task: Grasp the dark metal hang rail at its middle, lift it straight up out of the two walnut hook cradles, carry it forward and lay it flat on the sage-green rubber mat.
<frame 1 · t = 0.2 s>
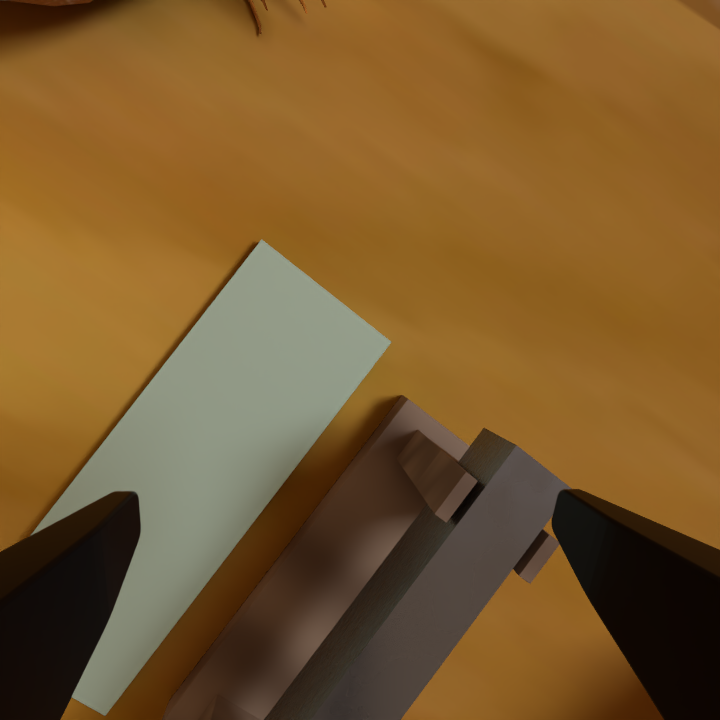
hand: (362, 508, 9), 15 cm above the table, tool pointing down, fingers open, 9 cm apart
hook stand: (341, 582, 24), on the table
rubber mat: (185, 477, 23), on the table
hang rail: (350, 655, 19), point 5 cm above the table, touching hook stand
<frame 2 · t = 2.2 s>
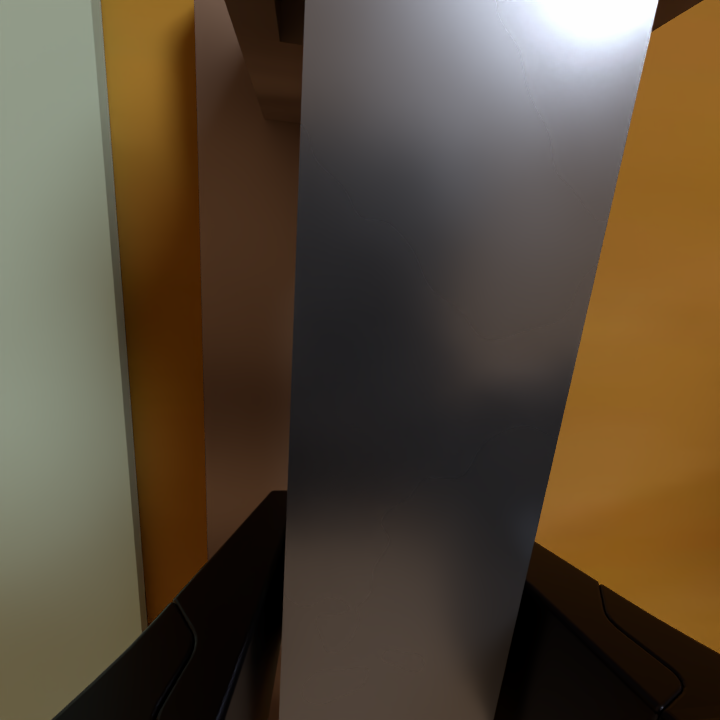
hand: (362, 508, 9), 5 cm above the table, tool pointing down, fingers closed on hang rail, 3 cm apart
hook stand: (342, 413, 13), on the table
hang rail: (365, 522, 8), point 5 cm above the table, touching gripper, hook stand
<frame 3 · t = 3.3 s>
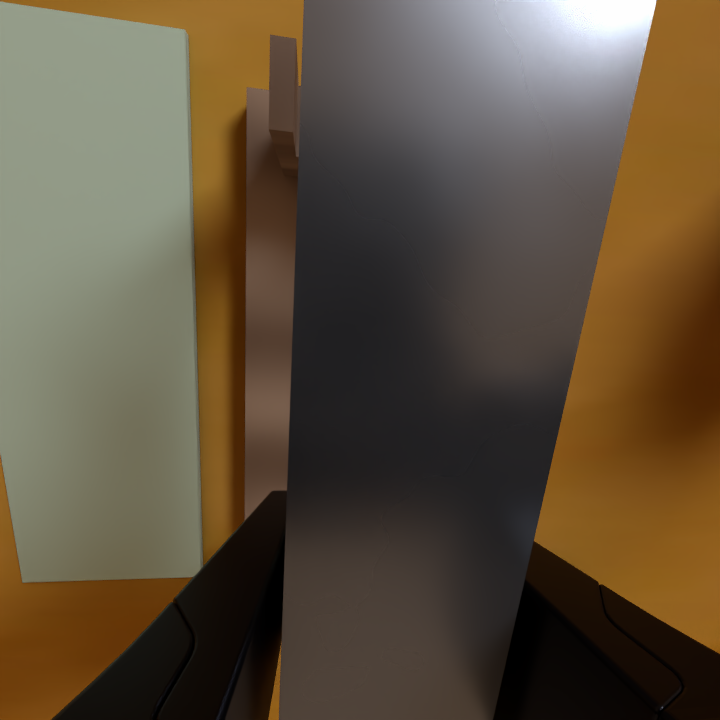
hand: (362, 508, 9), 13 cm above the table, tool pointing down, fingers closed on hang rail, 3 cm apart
hook stand: (330, 355, 21), on the table
rubber mat: (96, 344, 19), on the table
hang rail: (365, 521, 8), point 13 cm above the table, touching gripper
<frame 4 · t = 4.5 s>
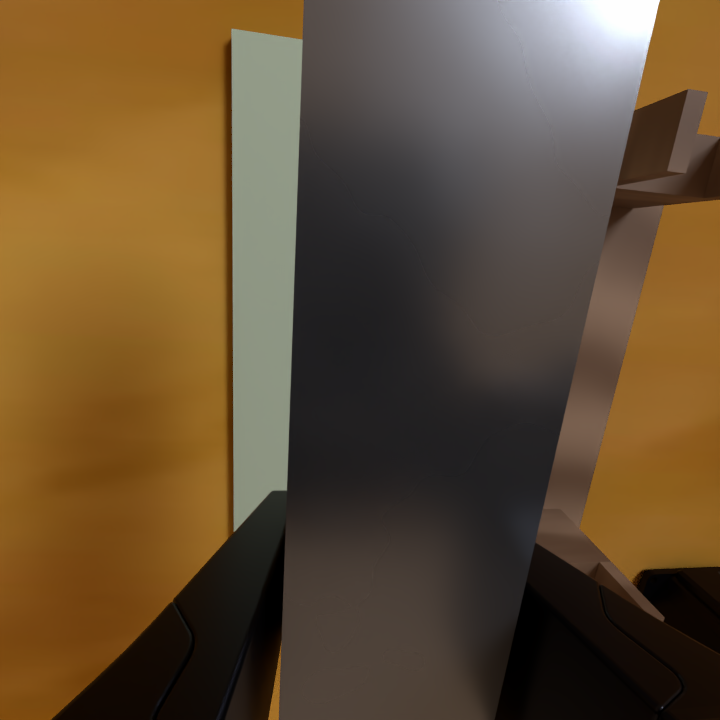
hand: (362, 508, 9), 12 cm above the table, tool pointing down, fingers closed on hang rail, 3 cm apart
hook stand: (532, 363, 22), on the table
rubber mat: (327, 355, 20), on the table
hang rail: (365, 521, 8), point 13 cm above the table, touching gripper
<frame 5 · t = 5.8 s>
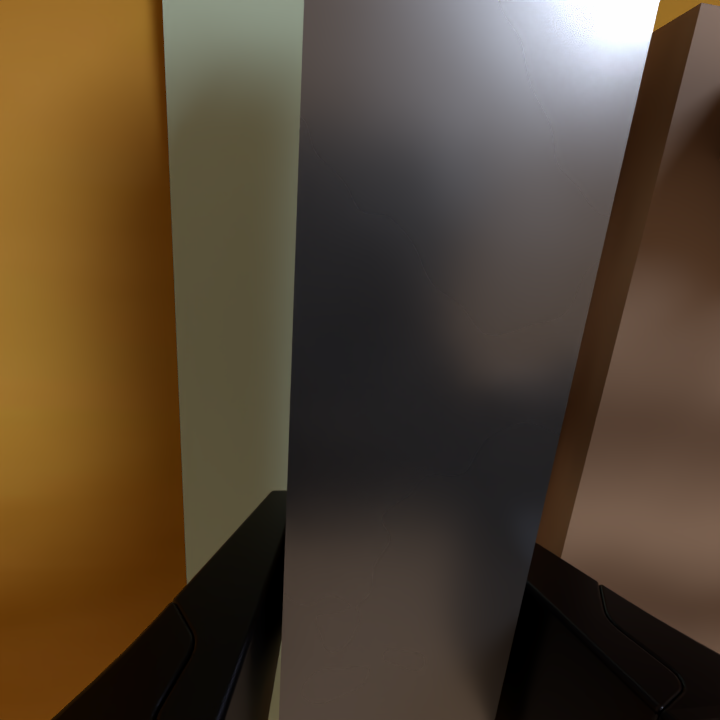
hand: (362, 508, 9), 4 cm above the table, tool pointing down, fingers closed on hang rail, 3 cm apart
hook stand: (664, 433, 14), on the table
rubber mat: (342, 428, 12), on the table
hang rail: (365, 521, 8), point 4 cm above the table, touching gripper
when the fingers open (1 cm above the table, at t = 7.0 s): hang rail drops 1 cm, resting on rubber mat.
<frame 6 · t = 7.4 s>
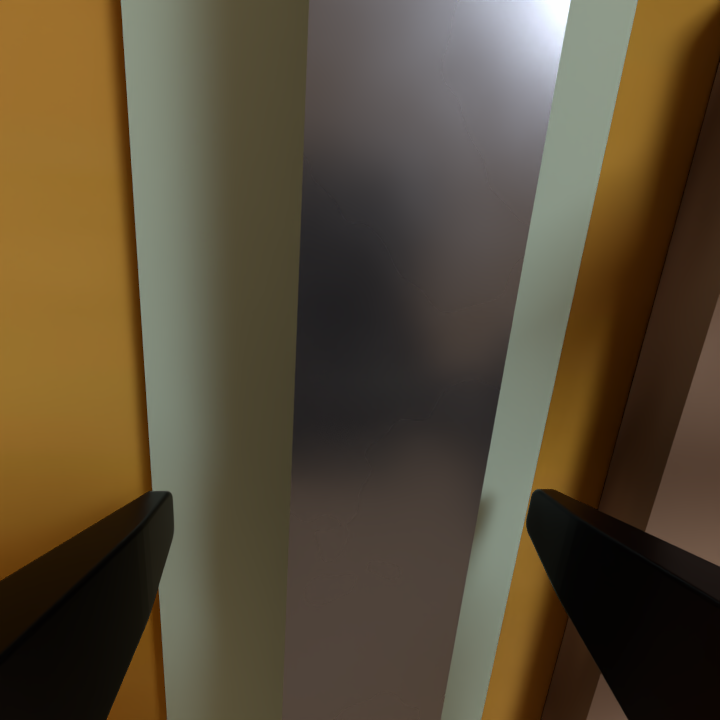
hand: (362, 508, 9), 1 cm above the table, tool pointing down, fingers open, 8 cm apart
rubber mat: (352, 470, 10), on the table
hang rail: (357, 480, 10), resting on rubber mat
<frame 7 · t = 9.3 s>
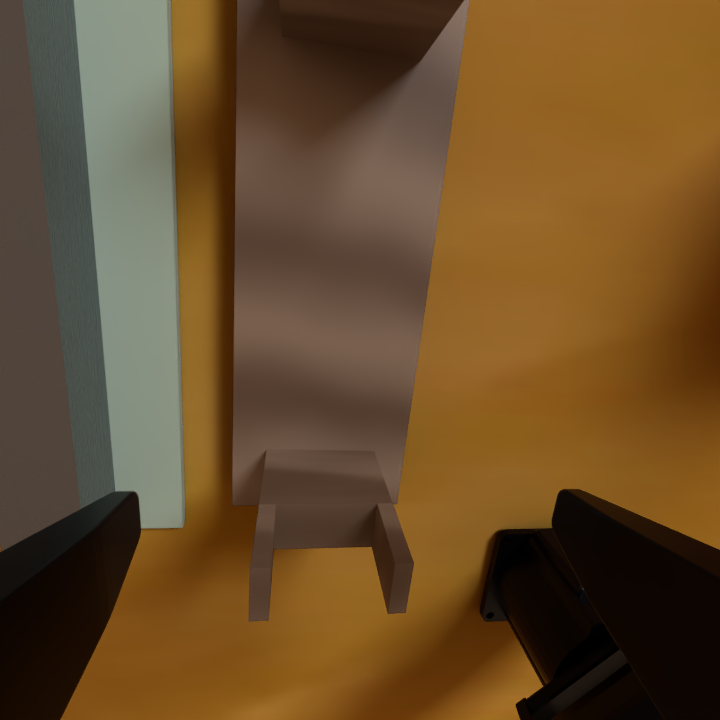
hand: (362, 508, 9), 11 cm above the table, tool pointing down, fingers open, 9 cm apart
hook stand: (332, 273, 18), on the table
rubber mat: (58, 249, 16), on the table
hang rail: (52, 248, 16), resting on rubber mat
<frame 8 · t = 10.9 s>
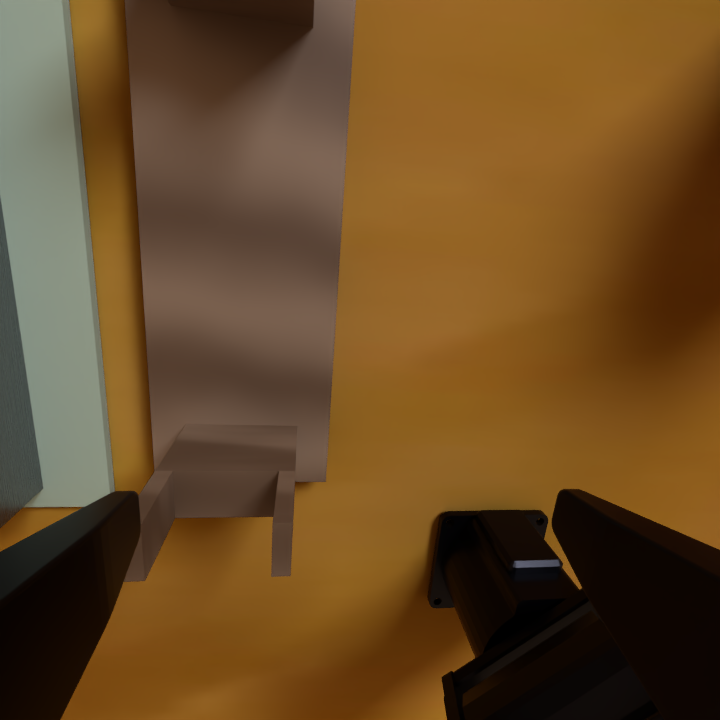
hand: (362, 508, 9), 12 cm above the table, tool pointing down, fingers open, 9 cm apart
hook stand: (248, 246, 18), on the table
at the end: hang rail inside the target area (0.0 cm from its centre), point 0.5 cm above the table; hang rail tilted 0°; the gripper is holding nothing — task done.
